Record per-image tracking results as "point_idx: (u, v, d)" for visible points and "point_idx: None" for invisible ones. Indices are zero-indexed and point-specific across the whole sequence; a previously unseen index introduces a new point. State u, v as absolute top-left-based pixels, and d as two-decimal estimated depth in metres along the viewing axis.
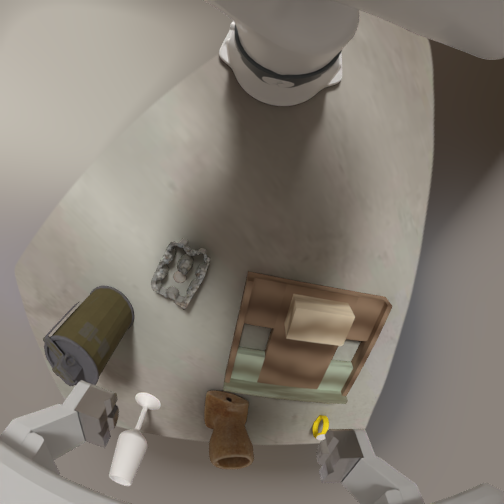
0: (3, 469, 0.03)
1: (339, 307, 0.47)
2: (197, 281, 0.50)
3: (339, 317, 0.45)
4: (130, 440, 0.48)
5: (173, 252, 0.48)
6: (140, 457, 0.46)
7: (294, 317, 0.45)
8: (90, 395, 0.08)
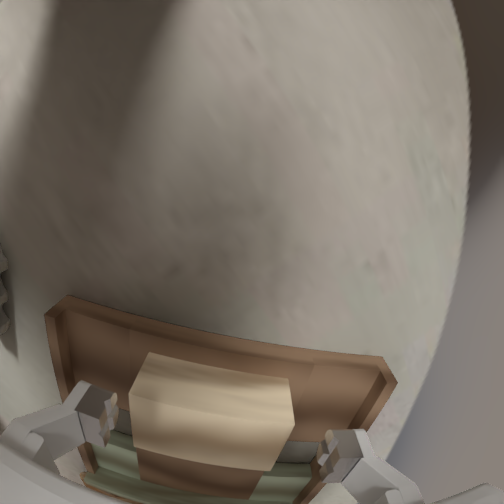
0: (3, 469, 0.03)
1: (256, 395, 0.17)
2: (2, 302, 0.20)
3: (248, 424, 0.15)
4: None
5: None
6: None
7: (132, 412, 0.15)
8: (90, 395, 0.08)
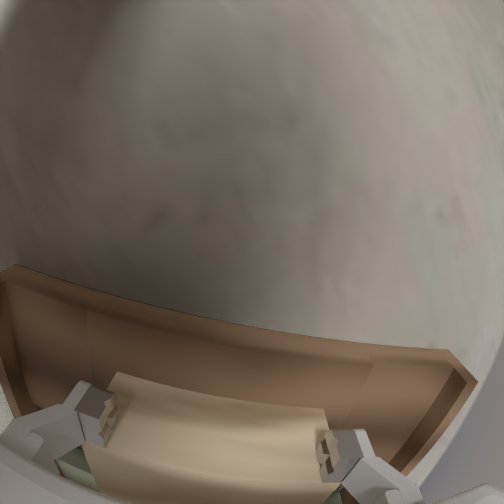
0: (3, 469, 0.03)
1: (280, 439, 0.10)
2: None
3: (271, 487, 0.08)
4: None
5: None
6: None
7: (90, 462, 0.08)
8: (90, 395, 0.08)
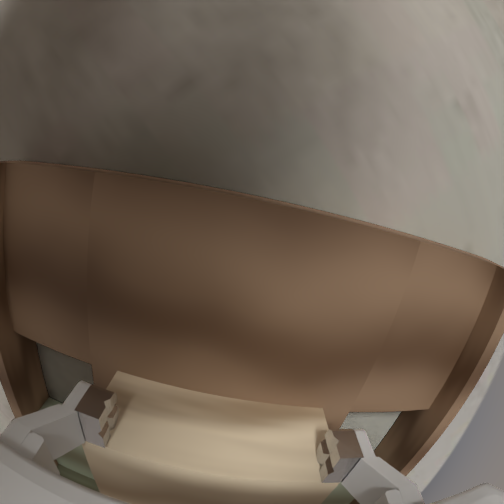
0: (3, 469, 0.03)
1: (280, 438, 0.10)
2: None
3: (270, 486, 0.08)
4: None
5: None
6: None
7: (90, 461, 0.08)
8: (90, 395, 0.08)
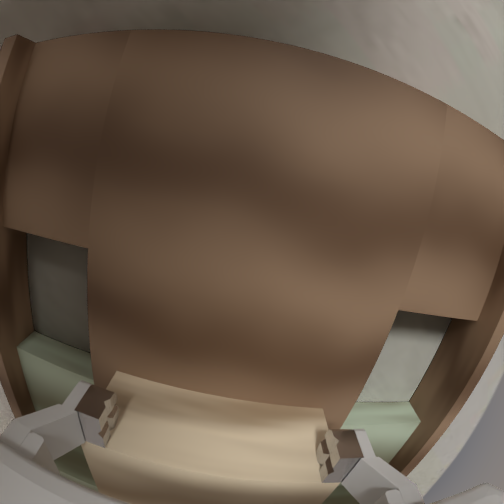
0: (3, 469, 0.03)
1: (280, 438, 0.10)
2: None
3: (270, 487, 0.08)
4: None
5: None
6: None
7: (90, 461, 0.08)
8: (90, 395, 0.08)
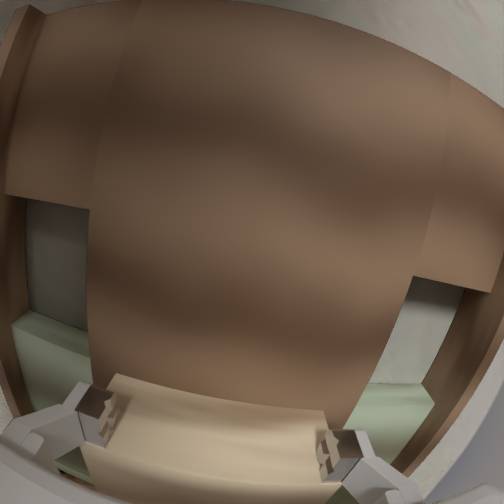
0: (3, 469, 0.03)
1: (280, 441, 0.10)
2: None
3: (270, 490, 0.08)
4: None
5: None
6: None
7: (89, 463, 0.08)
8: (90, 395, 0.08)
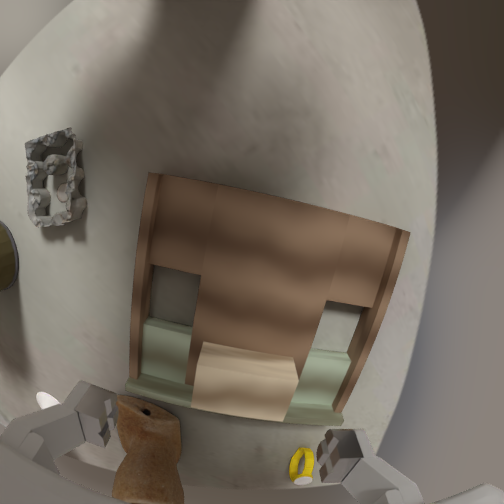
0: (3, 469, 0.03)
1: (274, 365, 0.29)
2: (79, 178, 0.28)
3: (270, 381, 0.27)
4: None
5: (41, 163, 0.27)
6: None
7: (196, 378, 0.27)
8: (90, 395, 0.08)
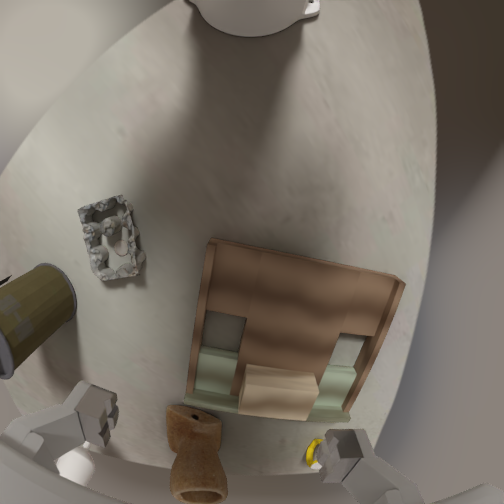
0: (3, 469, 0.03)
1: (300, 380, 0.38)
2: (136, 236, 0.37)
3: (299, 393, 0.36)
4: (72, 459, 0.32)
5: (95, 224, 0.36)
6: (83, 481, 0.30)
7: (245, 393, 0.36)
8: (90, 395, 0.08)
